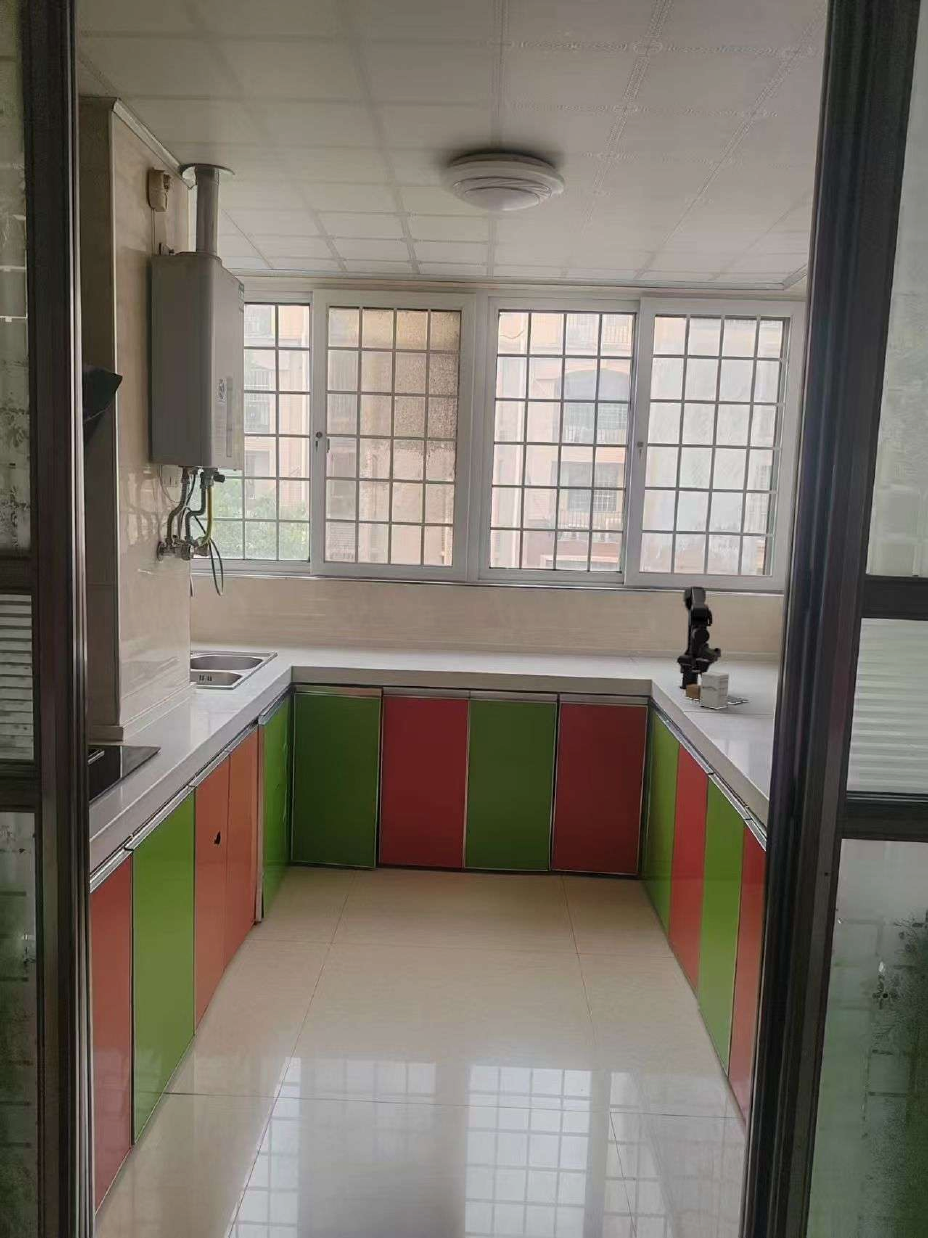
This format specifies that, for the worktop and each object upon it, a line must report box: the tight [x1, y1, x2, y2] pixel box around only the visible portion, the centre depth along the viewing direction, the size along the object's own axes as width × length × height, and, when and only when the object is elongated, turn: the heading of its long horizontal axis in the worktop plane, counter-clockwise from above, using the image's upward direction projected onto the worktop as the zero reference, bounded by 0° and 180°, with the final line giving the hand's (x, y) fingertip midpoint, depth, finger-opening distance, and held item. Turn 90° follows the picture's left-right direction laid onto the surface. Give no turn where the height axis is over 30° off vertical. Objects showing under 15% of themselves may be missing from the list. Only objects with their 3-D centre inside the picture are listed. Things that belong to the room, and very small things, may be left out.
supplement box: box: [699, 670, 730, 708], centre depth 354 cm, size 7×7×13 cm
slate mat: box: [727, 695, 749, 703], centre depth 366 cm, size 10×9×1 cm
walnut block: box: [685, 684, 701, 700], centre depth 369 cm, size 5×5×5 cm
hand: (695, 680), depth 369 cm, fingers open, 9 cm apart
